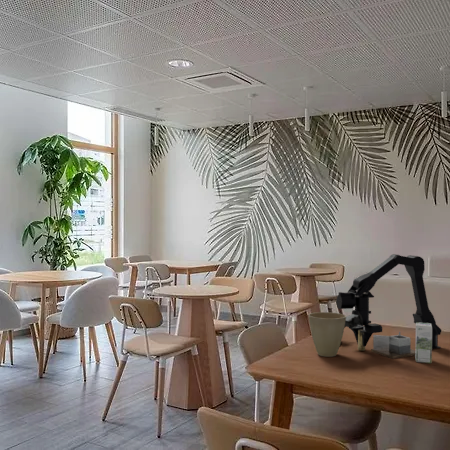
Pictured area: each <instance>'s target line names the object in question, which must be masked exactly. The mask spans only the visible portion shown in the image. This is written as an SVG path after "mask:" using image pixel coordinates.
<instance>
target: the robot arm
mask: <svg viewBox="0 0 450 450" xmlns="http://www.w3.org/2000/svg"><path fill="white" fill-rule="evenodd" d="M398 265H400V266H401V265H402V266H404V268H405V270H406V272H407V273H408V275H409V276H410V281H411V285H412V291H413V296H414V301H415V307H416V311H415V313H412V318H413V323H414V324H415V325H416V322H417V323H431V325H432V350H435V349H436V350H437V349H441V346H440V345H439V344H438V343H439V340H438V339H439V336H441V334H442V331H443V330H442V329H441V328H440V326H439V325H438V324H437V321H436V319H435V316H434V314H433V313H432V311H431V310H430V308H429V303H428V298H427V297H428V296H427V293H426V287H425V282H424V278H423V277H424V272H425V260H424V258H423V257H421V256H418V255H407V256H405V255H401V254H395V253H393V254H391V255H389V257H388V258H386V259H385V260H384V261H383V262H381V263H380V264H379V265H377V266H375V268H374V269H372V270H371V271H369V272H367V273H365V274H362V275H359V276H358V277H356V278H355V279H354V280H353V281H352V284H351V286H350V288H349V290H348V291H347V292H342V291H340V292H338V295H337V296H336V299H335V301H336V302H335V304H336V307H337V309H339V310H347V309H348V310H349V309H353V310H352V311H351V314H350V315H346V320H345V328H346V327H347V328H348V329H350V330H351V331H352V332H353V335H354V337H355V340H356V344H357V345H358V330H362V331H360V332H361V333H362V341H363V347H365V348H366V346H367V345H368V342H369V340H370V338H371V337H372V335H374V334H376V333H383V326H382V325H381V324H378V323H372V321H371V320H370V314H372V310H370V298H375V295H373V294H372V293H371V290H372V289H373V288H374V287H375V285H376V283H377V282H378V281H379V280H380V279H382V278H383V277H384V276H385V275H387V274H388V273H389V272H391V271H392V270H393V269H394V268H396V267H397V266H398Z"/></svg>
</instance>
